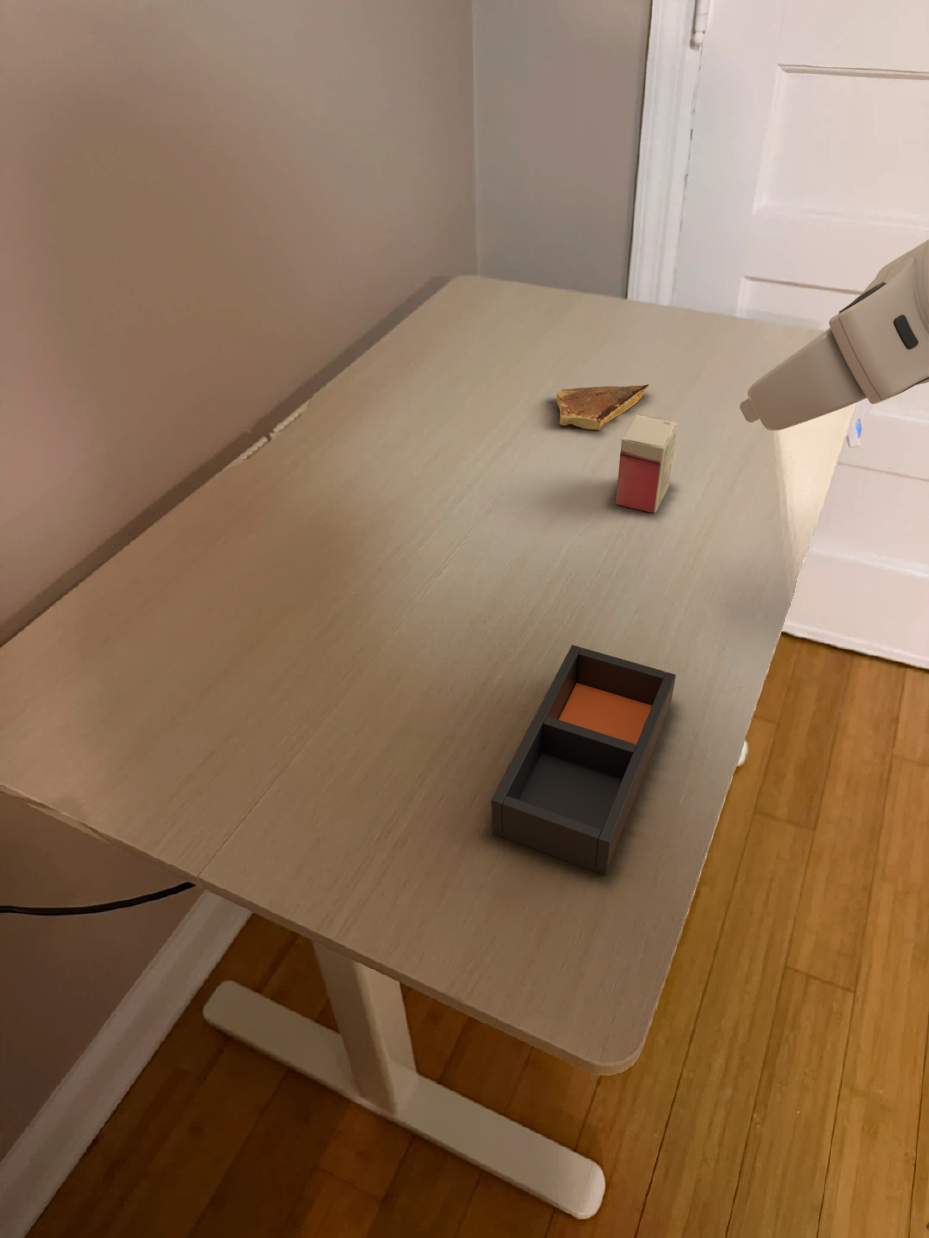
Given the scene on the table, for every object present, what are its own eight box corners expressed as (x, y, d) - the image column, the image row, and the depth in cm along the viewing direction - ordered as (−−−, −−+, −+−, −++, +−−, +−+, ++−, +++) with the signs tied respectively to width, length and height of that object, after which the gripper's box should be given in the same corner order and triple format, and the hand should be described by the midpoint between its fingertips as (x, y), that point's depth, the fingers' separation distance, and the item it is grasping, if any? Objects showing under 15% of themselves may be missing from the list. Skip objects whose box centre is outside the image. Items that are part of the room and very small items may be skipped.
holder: (670, 709, 71) (676, 674, 68) (605, 875, 60) (609, 842, 57) (570, 678, 73) (571, 644, 70) (492, 833, 63) (490, 799, 60)
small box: (629, 478, 93) (636, 412, 88) (669, 487, 92) (679, 420, 86) (614, 505, 90) (620, 438, 85) (655, 515, 89) (664, 447, 83)
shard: (647, 395, 105) (649, 382, 104) (658, 430, 100) (659, 416, 98) (555, 399, 105) (556, 386, 104) (561, 434, 100) (561, 420, 99)
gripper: (989, 224, 65) (836, 312, 77) (831, 318, 56) (686, 401, 68) (1027, 302, 65) (870, 376, 78) (877, 407, 56) (725, 473, 68)
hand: (783, 389), depth 73 cm, fingers open, 8 cm apart
